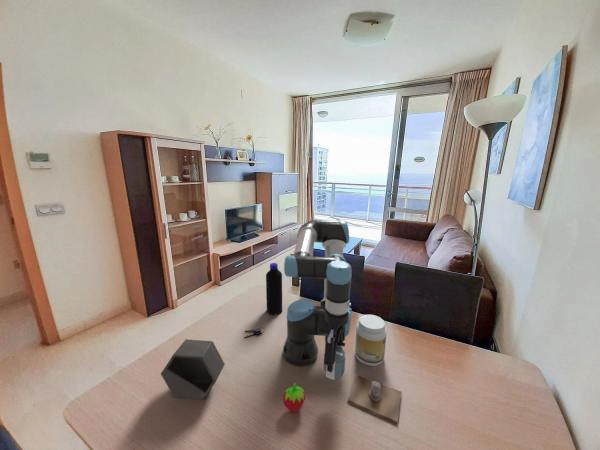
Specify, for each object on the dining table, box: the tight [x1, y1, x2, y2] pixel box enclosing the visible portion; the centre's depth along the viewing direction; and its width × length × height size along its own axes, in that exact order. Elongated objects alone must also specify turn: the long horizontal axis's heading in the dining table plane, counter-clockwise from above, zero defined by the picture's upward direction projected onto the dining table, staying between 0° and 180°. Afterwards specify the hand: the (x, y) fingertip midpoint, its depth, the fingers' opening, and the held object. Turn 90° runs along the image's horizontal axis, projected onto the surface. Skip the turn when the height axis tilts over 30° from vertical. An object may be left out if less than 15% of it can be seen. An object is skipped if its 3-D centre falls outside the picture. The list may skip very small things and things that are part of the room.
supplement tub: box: [354, 314, 387, 367], centre depth 102 cm, size 12×12×17 cm
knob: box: [323, 346, 346, 380], centre depth 82 cm, size 7×7×7 cm
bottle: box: [265, 262, 283, 316], centre depth 134 cm, size 9×9×28 cm
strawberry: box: [282, 382, 306, 413], centre depth 79 cm, size 6×7×10 cm
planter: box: [160, 339, 225, 401], centre depth 85 cm, size 17×8×21 cm
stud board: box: [347, 374, 402, 425], centre depth 84 cm, size 16×12×6 cm
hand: (334, 369), depth 82 cm, fingers closed on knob, 7 cm apart
